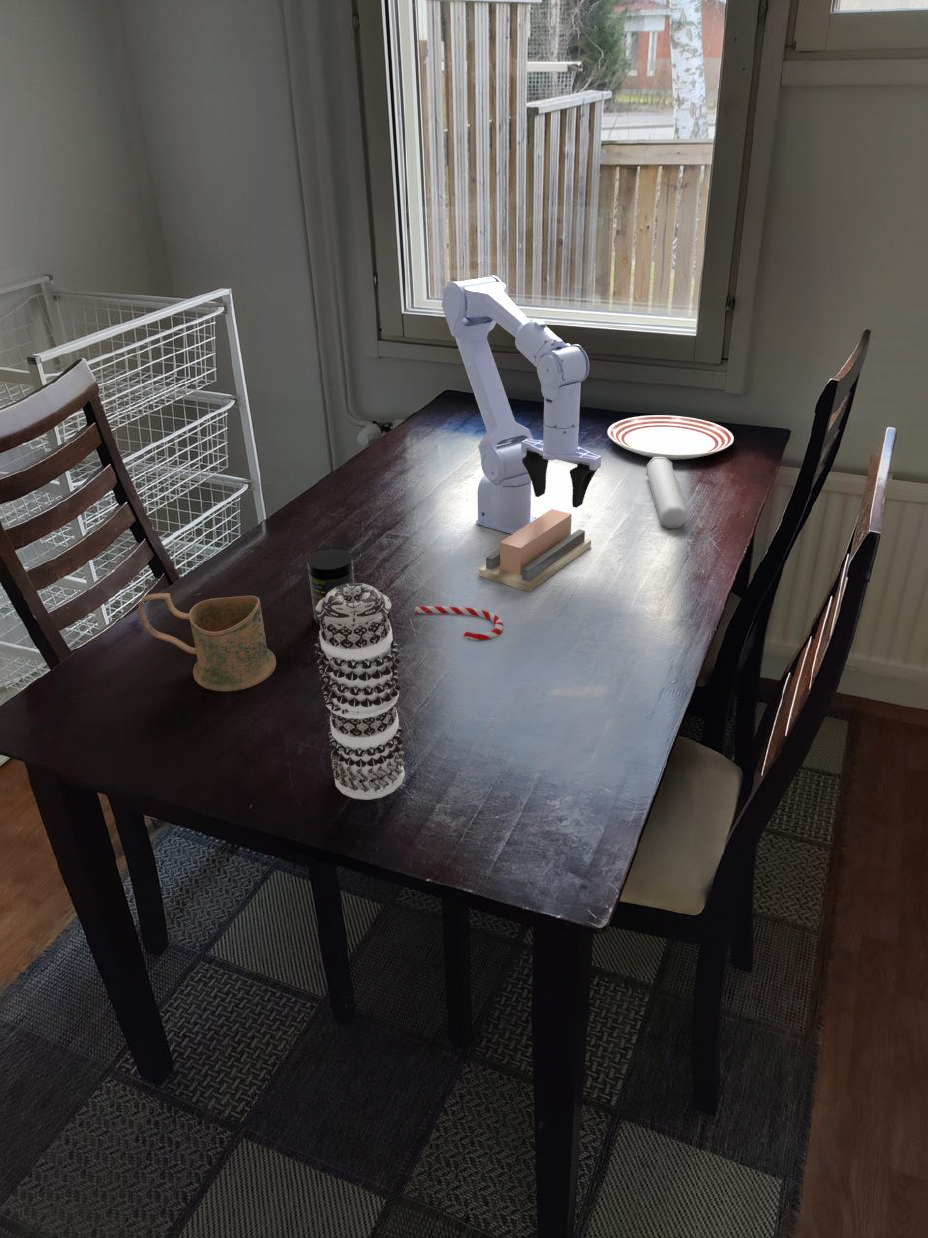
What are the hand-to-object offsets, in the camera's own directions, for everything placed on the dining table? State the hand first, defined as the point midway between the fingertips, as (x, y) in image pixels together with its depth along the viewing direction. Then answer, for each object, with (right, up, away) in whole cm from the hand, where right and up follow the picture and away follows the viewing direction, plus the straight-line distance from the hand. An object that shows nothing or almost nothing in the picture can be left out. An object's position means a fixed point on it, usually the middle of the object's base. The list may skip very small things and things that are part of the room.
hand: (558, 500), depth 157 cm
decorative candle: (-28, -39, -46) cm, 67 cm away
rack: (-4, -10, +1) cm, 11 cm away
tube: (+23, +2, +21) cm, 31 cm away
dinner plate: (+30, +18, +48) cm, 59 cm away
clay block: (-4, -9, +1) cm, 10 cm away
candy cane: (-17, -21, -15) cm, 31 cm away
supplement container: (-36, -20, -14) cm, 44 cm away
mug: (-52, -28, -25) cm, 64 cm away
